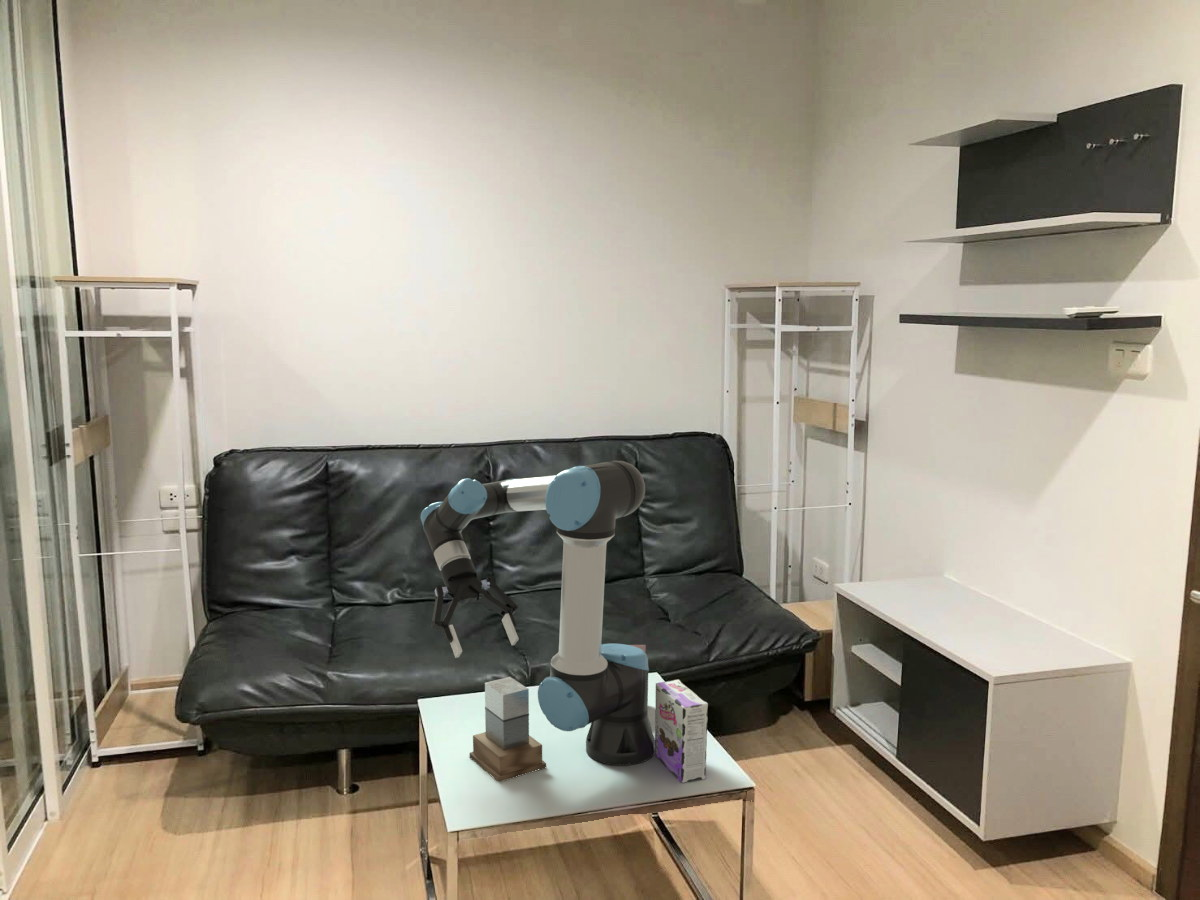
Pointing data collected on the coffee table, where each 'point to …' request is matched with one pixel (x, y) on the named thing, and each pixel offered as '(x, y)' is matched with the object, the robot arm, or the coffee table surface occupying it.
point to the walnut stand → (506, 757)
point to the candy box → (681, 730)
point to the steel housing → (507, 713)
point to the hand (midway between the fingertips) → (487, 648)
